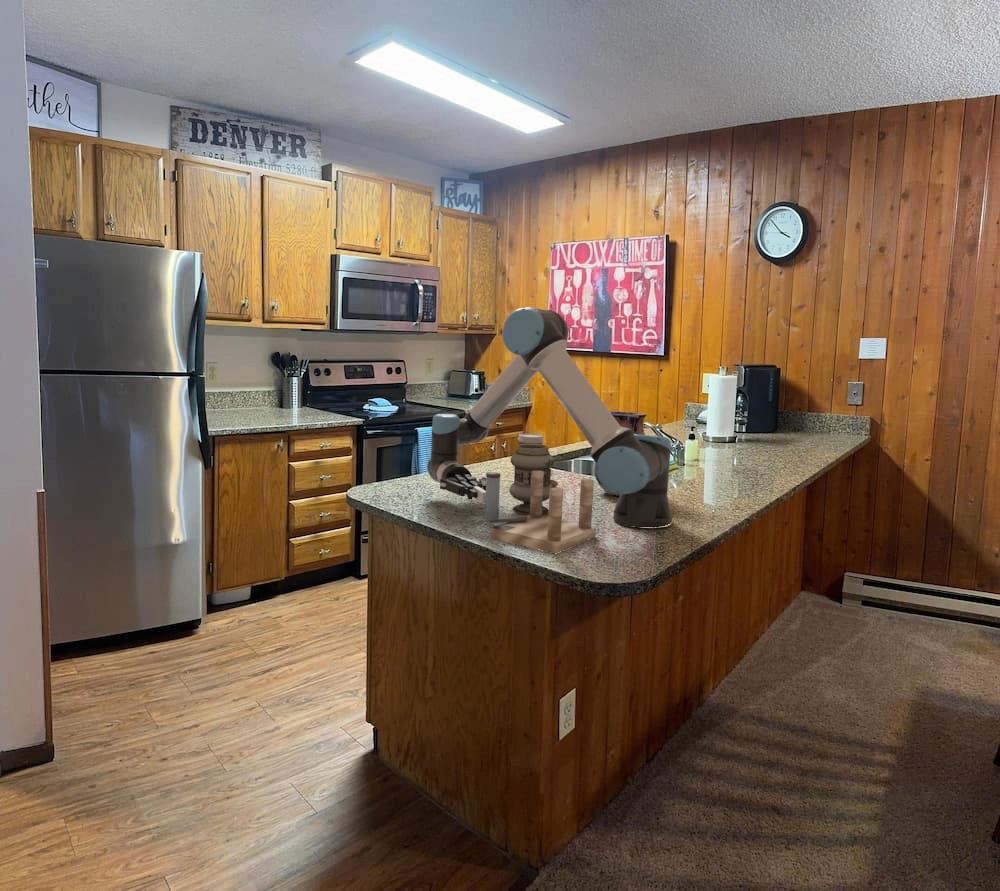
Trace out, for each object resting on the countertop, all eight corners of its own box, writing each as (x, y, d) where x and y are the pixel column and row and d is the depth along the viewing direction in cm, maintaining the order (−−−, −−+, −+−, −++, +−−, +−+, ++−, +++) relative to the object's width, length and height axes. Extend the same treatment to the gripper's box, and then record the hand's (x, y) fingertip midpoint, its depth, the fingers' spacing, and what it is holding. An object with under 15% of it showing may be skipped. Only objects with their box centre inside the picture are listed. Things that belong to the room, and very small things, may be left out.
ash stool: (595, 537, 170) (599, 480, 168) (556, 554, 156) (559, 491, 154) (532, 523, 180) (535, 469, 178) (490, 538, 166) (492, 479, 164)
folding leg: (523, 518, 174) (525, 470, 173) (529, 521, 171) (531, 473, 170) (482, 520, 170) (484, 472, 169) (487, 524, 167) (489, 475, 165)
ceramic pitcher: (613, 502, 207) (618, 417, 203) (576, 487, 226) (581, 409, 222) (662, 498, 214) (668, 416, 211) (623, 484, 233) (628, 408, 230)
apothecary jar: (501, 506, 197) (503, 442, 194) (540, 504, 201) (543, 441, 199) (519, 517, 186) (522, 449, 183) (560, 514, 190) (563, 448, 188)
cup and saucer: (521, 482, 230) (521, 464, 229) (558, 485, 229) (558, 466, 228) (518, 490, 219) (518, 471, 218) (557, 493, 217) (558, 473, 216)
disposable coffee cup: (548, 468, 256) (549, 436, 254) (530, 471, 249) (532, 438, 247) (528, 464, 262) (529, 432, 260) (510, 467, 255) (512, 434, 253)
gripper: (476, 489, 194) (508, 511, 173) (431, 491, 189) (458, 514, 168) (477, 462, 193) (510, 481, 171) (431, 464, 188) (460, 483, 167)
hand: (484, 497), depth 170 cm, fingers closed
